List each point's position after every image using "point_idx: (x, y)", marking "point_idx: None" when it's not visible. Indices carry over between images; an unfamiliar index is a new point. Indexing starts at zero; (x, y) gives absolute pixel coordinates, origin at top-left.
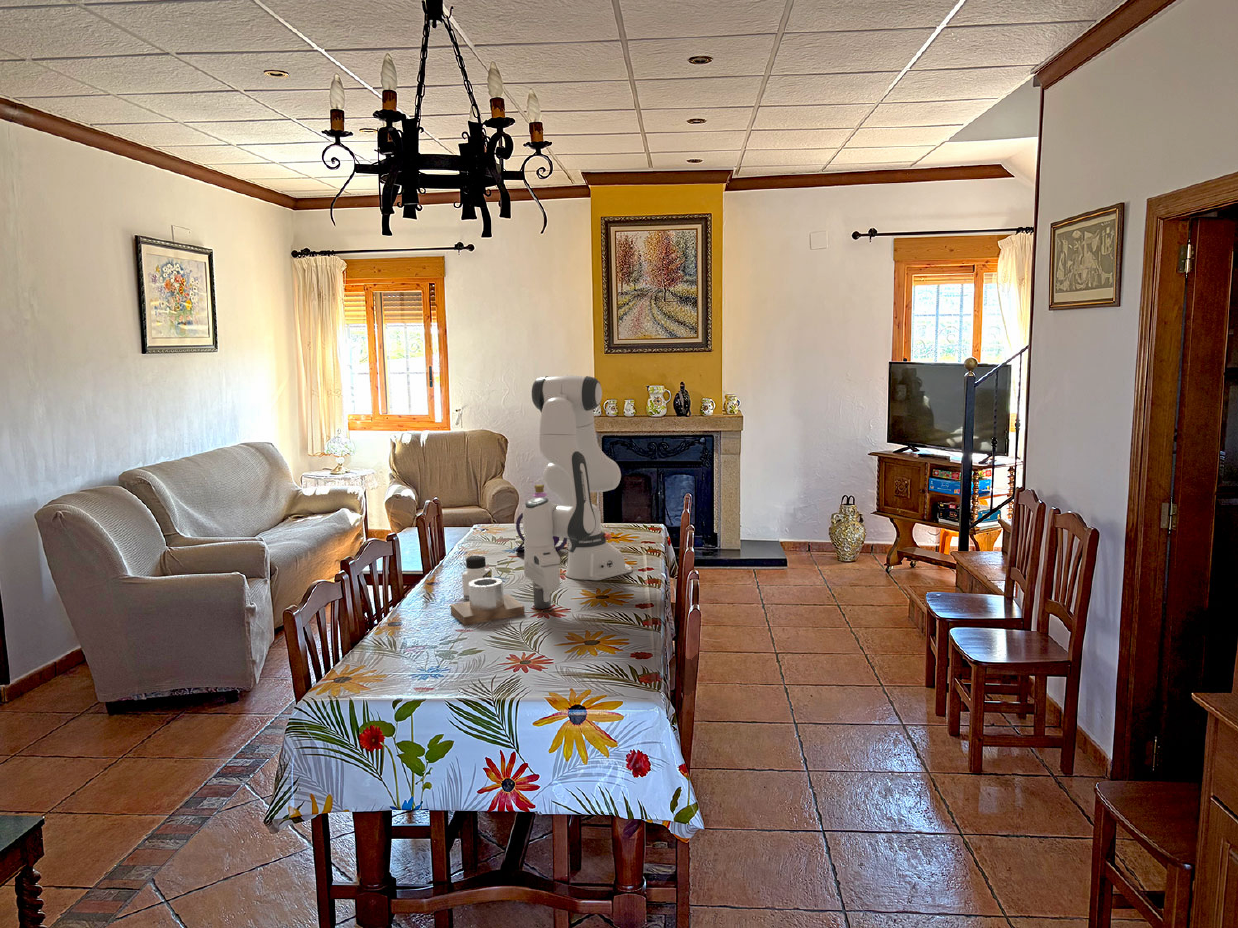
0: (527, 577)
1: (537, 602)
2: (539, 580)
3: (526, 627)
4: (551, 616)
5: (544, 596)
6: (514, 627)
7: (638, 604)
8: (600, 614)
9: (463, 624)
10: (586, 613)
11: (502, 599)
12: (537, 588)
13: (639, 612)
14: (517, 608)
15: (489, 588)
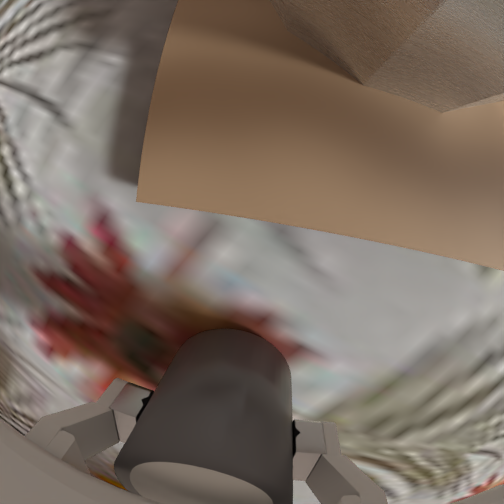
0: (468, 502)
1: (189, 357)
2: (18, 502)
3: (3, 115)
4: (53, 304)
5: (97, 404)
6: (34, 61)
7: None
8: (31, 418)
9: None
10: (48, 410)
11: (322, 17)
12: (154, 459)
13: None
14: (149, 131)
15: None
